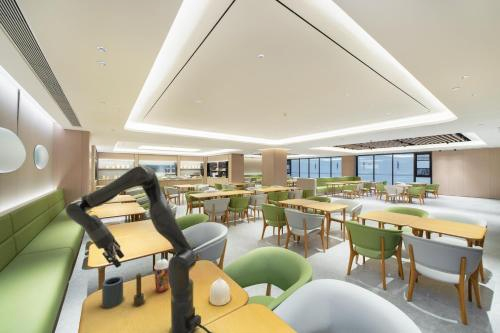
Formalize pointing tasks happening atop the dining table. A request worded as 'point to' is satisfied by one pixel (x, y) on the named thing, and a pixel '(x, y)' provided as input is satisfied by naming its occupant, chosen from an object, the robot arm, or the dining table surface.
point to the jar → (112, 292)
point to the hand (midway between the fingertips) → (120, 261)
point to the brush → (138, 292)
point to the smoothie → (161, 275)
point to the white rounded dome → (219, 292)
